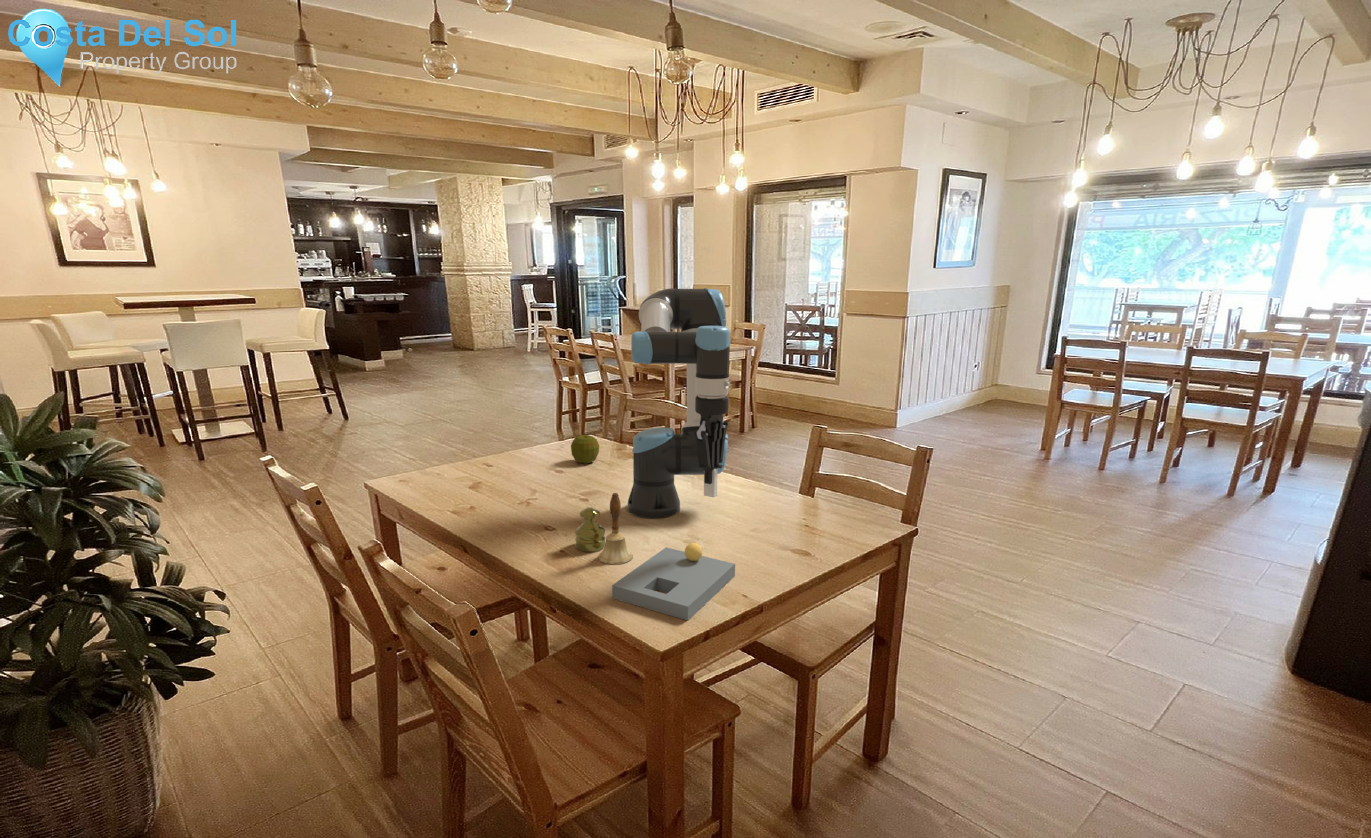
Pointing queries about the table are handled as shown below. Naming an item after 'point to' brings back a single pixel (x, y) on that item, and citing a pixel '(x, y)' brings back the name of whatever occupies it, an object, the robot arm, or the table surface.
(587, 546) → the olive green tall piece
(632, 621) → the table surface
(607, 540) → the hand bell
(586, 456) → the apple
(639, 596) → the board
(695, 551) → the ball
